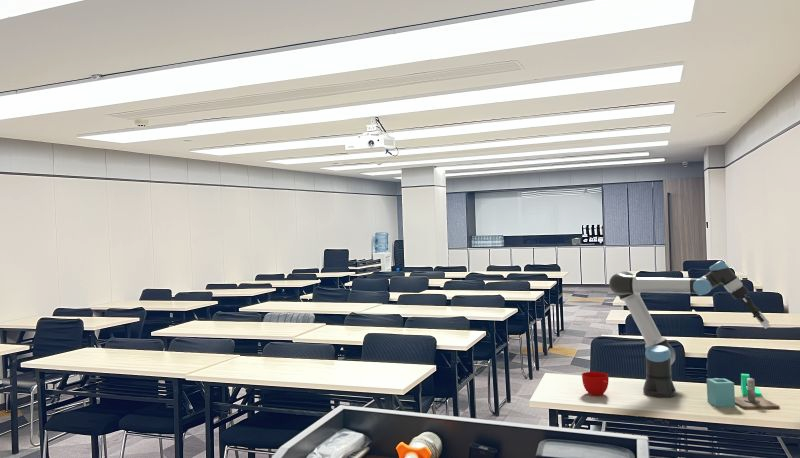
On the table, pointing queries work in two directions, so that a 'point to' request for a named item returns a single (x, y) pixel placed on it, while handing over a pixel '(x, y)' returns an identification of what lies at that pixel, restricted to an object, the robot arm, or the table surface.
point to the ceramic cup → (595, 382)
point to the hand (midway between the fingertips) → (767, 325)
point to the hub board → (755, 405)
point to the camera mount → (744, 388)
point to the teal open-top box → (720, 392)
